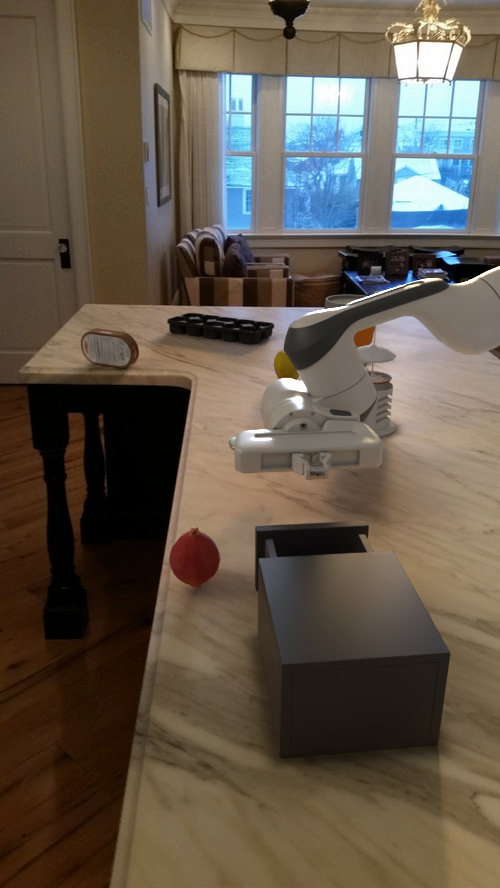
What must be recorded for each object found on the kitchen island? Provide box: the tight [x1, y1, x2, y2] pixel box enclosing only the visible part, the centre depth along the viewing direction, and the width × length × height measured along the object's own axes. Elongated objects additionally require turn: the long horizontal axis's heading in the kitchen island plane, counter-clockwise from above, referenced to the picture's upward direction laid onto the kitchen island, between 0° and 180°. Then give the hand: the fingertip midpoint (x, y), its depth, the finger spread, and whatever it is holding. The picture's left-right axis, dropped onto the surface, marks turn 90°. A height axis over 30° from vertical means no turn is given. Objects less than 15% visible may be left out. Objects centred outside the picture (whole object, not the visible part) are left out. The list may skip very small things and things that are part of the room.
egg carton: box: [166, 312, 275, 345], centre depth 195 cm, size 18×30×4 cm, turn 72°
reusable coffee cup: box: [323, 294, 375, 365], centre depth 168 cm, size 13×13×15 cm
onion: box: [168, 526, 221, 589], centre depth 81 cm, size 6×6×8 cm
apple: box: [273, 349, 300, 381], centre depth 154 cm, size 6×6×8 cm
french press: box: [357, 290, 397, 437], centre depth 125 cm, size 10×12×25 cm
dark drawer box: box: [257, 550, 451, 759], centre depth 65 cm, size 16×14×10 cm
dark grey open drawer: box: [254, 520, 375, 593], centre depth 74 cm, size 16×13×8 cm
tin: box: [80, 327, 140, 369], centre depth 165 cm, size 15×3×8 cm, turn 65°
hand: (317, 474), depth 90 cm, fingers closed
